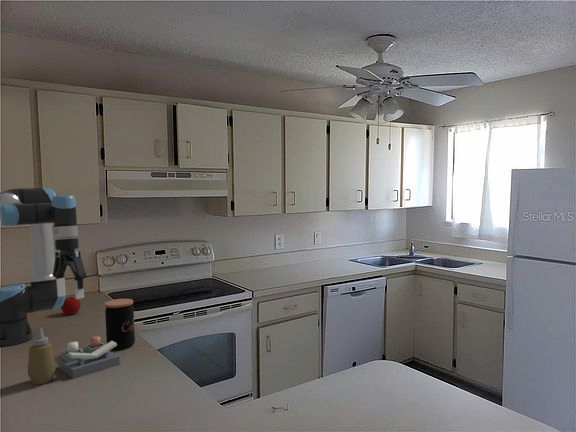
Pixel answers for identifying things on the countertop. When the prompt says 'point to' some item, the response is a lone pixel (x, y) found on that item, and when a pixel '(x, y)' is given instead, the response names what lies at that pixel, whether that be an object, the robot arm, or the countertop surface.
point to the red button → (95, 341)
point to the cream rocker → (104, 349)
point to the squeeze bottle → (41, 360)
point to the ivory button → (72, 347)
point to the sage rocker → (81, 355)
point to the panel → (87, 362)
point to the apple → (71, 306)
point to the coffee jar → (120, 323)
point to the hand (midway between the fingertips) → (70, 297)
